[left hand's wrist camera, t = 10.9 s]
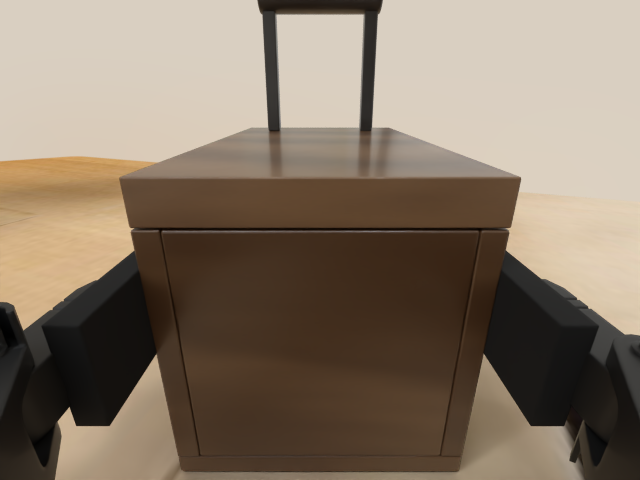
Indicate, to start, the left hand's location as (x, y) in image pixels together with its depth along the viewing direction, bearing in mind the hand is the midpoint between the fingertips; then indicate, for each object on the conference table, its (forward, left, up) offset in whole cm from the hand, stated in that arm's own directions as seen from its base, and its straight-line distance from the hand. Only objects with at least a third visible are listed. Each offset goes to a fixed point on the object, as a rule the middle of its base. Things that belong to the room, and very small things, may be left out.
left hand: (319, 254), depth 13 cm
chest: (+4, -2, -6) cm, 8 cm away
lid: (+4, -2, +2) cm, 5 cm away
